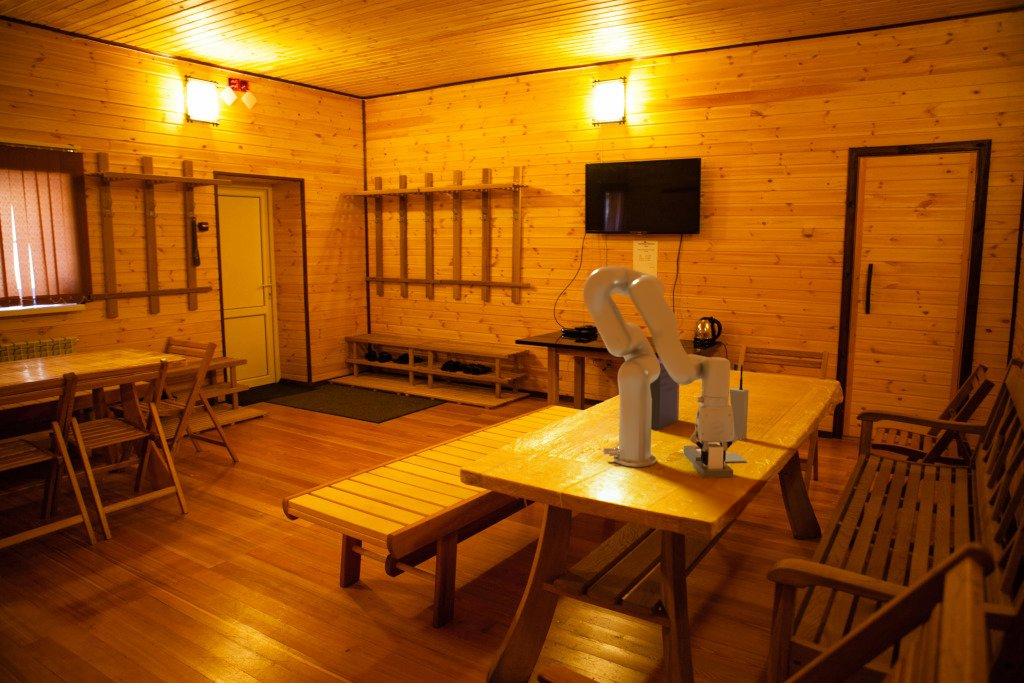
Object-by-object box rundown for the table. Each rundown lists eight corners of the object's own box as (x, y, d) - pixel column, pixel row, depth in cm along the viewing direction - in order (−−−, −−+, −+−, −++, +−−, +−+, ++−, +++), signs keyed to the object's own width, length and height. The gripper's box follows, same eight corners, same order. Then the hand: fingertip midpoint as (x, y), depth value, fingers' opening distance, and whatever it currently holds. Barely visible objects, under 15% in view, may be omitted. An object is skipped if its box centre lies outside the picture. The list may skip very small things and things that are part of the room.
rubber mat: (720, 463, 212) (720, 461, 211) (711, 455, 219) (711, 453, 219) (746, 462, 212) (746, 460, 212) (736, 454, 220) (736, 452, 220)
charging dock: (703, 477, 198) (704, 465, 198) (681, 455, 220) (681, 443, 219) (733, 477, 199) (733, 464, 198) (708, 454, 220) (708, 443, 220)
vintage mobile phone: (732, 435, 241) (735, 363, 237) (746, 438, 238) (749, 364, 234) (727, 438, 238) (730, 364, 235) (742, 440, 235) (745, 366, 231)
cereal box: (666, 418, 265) (667, 355, 262) (678, 420, 262) (680, 356, 259) (646, 428, 251) (647, 361, 248) (659, 430, 248) (660, 363, 245)
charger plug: (708, 475, 201) (709, 447, 200) (703, 469, 206) (704, 442, 205) (722, 474, 201) (723, 446, 200) (716, 469, 206) (717, 441, 205)
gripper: (690, 404, 196) (688, 468, 199) (749, 403, 197) (746, 466, 200) (682, 398, 204) (680, 460, 206) (739, 397, 205) (736, 458, 207)
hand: (713, 462), depth 203 cm, fingers closed on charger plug, 4 cm apart
